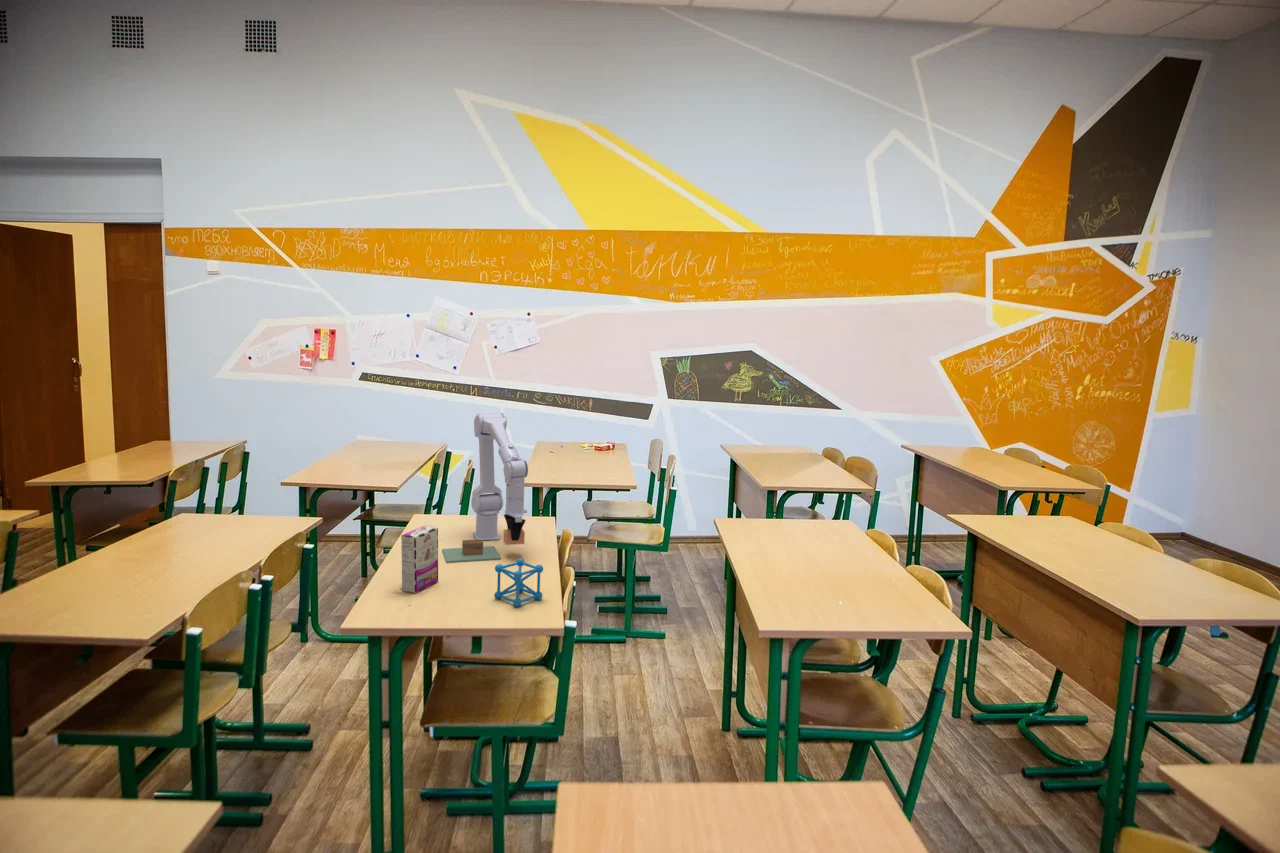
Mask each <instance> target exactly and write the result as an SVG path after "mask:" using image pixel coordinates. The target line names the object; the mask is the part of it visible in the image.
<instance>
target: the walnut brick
mask: <svg viewBox="0 0 1280 853" xmlns="http://www.w3.org/2000/svg"><path fill="white" fill-rule="evenodd" d="M461 541H462V542H461V543H462V544H461V546H462V547H461V548H462V552H463V555H464V556H467V555H483V547H484V542H483V541H484V540H481V539H476V538H473V539H463V540H461Z"/></svg>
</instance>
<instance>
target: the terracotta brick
mask: <svg viewBox="0 0 1280 853" xmlns="http://www.w3.org/2000/svg"><path fill="white" fill-rule="evenodd" d="M525 537H526V536H525V531H524V529H523V528H522V529H521V533H520V537H519V540H516V541H512V538H511V531H510V529H508V528H507V529H506V528H505V529H503V543H504V545H506V546H509V545H510V546H512V545H513V546H514V545H525Z"/></svg>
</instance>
